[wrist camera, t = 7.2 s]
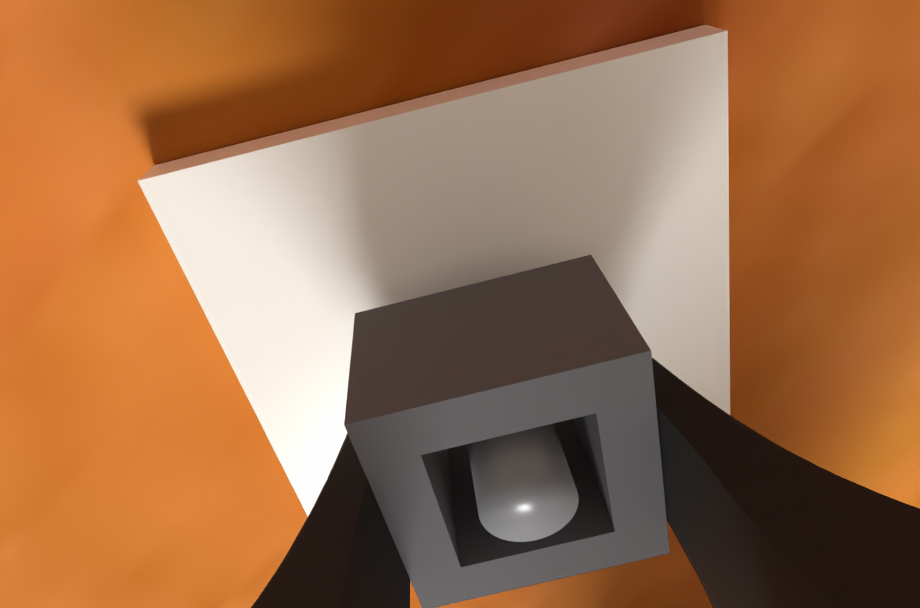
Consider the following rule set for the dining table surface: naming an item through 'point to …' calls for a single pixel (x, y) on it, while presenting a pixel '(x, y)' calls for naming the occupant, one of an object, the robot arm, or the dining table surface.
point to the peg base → (466, 238)
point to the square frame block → (507, 425)
